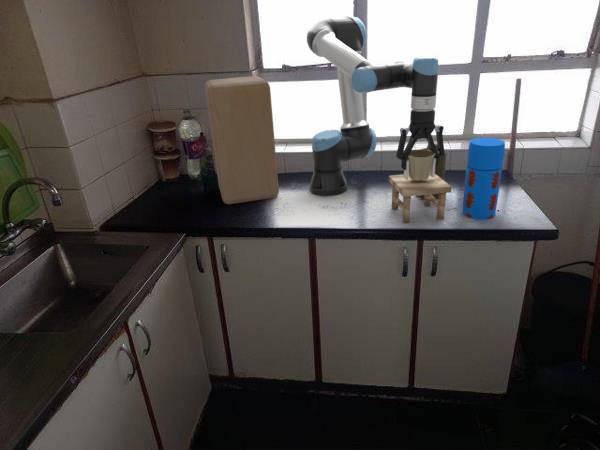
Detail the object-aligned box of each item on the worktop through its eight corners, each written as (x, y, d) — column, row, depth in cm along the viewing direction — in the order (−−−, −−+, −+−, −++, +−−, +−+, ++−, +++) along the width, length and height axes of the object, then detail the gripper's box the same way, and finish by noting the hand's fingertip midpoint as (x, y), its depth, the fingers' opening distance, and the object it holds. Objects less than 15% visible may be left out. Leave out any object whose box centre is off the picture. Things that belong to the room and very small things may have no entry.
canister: (440, 190, 172) (444, 140, 164) (445, 200, 163) (450, 147, 155) (412, 191, 174) (414, 141, 165) (415, 200, 164) (418, 148, 156)
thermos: (479, 222, 144) (488, 148, 134) (455, 211, 153) (461, 141, 143) (502, 214, 149) (513, 142, 138) (477, 205, 157) (485, 136, 147)
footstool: (388, 206, 161) (388, 175, 155) (430, 202, 162) (432, 171, 157) (401, 224, 146) (403, 191, 141) (448, 220, 147) (451, 186, 142)
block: (280, 198, 174) (270, 80, 155) (223, 207, 170) (206, 86, 151) (270, 181, 194) (260, 74, 175) (219, 188, 190) (203, 79, 171)
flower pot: (431, 183, 143) (433, 158, 139) (402, 181, 146) (403, 156, 143) (434, 174, 151) (436, 150, 147) (407, 172, 154) (408, 148, 150)
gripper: (394, 113, 135) (391, 183, 144) (460, 108, 136) (453, 177, 146) (387, 109, 141) (385, 176, 151) (450, 104, 143) (444, 171, 153)
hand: (418, 177), depth 148 cm, fingers closed on flower pot, 8 cm apart
